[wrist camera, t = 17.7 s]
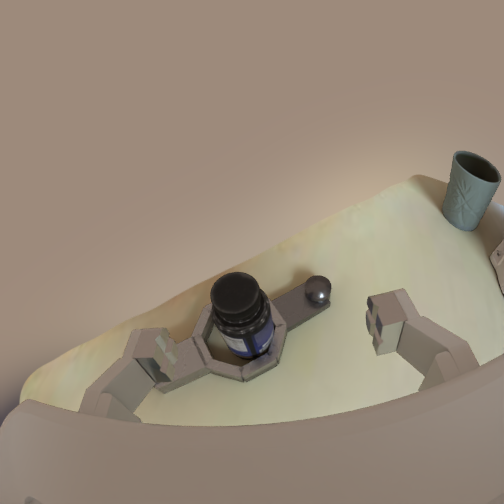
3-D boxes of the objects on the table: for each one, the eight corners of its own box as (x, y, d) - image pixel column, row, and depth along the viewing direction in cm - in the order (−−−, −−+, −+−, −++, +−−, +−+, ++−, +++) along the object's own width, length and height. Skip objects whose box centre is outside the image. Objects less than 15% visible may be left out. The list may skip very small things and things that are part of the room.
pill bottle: (266, 311, 36) (256, 257, 28) (282, 351, 32) (277, 307, 24) (221, 326, 36) (197, 277, 27) (234, 367, 32) (210, 329, 23)
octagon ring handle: (304, 265, 40) (305, 253, 38) (351, 319, 34) (354, 309, 32) (139, 348, 35) (130, 340, 33) (165, 419, 28) (155, 415, 26)
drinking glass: (486, 225, 40) (508, 177, 31) (463, 241, 38) (488, 188, 30) (454, 194, 47) (469, 147, 38) (428, 207, 45) (444, 154, 36)
